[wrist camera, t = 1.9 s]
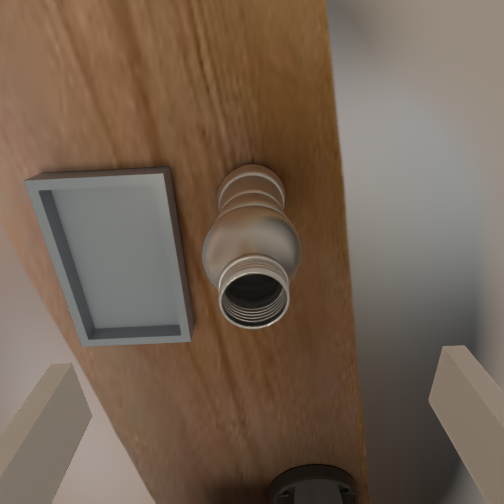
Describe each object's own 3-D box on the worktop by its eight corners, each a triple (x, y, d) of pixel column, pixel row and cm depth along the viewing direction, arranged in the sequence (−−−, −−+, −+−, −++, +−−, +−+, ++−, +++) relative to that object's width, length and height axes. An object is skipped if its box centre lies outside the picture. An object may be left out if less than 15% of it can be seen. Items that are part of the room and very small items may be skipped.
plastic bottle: (293, 200, 36) (341, 316, 18) (239, 231, 37) (232, 367, 19) (263, 146, 33) (282, 218, 15) (206, 182, 35) (162, 285, 17)
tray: (194, 325, 43) (190, 341, 40) (92, 330, 43) (82, 346, 40) (169, 166, 34) (163, 173, 31) (41, 173, 34) (23, 180, 31)
